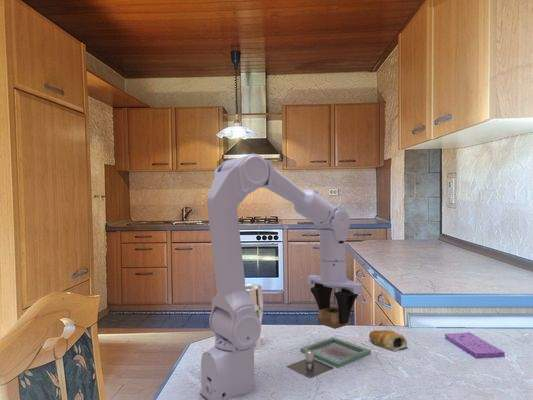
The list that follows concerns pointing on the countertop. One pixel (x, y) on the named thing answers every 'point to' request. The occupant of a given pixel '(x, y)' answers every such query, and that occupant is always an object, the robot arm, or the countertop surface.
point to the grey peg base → (310, 366)
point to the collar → (330, 317)
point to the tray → (361, 351)
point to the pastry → (388, 340)
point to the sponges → (474, 345)
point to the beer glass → (256, 304)
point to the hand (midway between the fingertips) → (334, 320)
